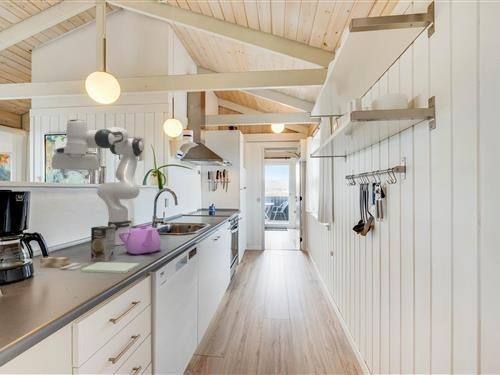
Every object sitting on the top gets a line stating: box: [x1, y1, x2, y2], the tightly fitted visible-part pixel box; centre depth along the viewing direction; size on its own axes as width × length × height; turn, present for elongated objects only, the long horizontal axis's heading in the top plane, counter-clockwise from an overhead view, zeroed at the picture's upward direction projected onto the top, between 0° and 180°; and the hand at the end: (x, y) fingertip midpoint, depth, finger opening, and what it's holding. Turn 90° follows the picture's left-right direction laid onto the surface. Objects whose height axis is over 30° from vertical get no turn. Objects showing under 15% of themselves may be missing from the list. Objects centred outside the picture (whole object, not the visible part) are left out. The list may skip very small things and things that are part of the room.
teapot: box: [119, 223, 162, 256], centre depth 141 cm, size 23×21×15 cm
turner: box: [39, 256, 89, 271], centre depth 117 cm, size 19×8×4 cm, turn 84°
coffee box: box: [90, 225, 116, 262], centre depth 129 cm, size 9×6×16 cm
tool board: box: [80, 261, 140, 274], centre depth 114 cm, size 11×20×1 cm, turn 84°
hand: (76, 178), depth 131 cm, fingers open, 8 cm apart
